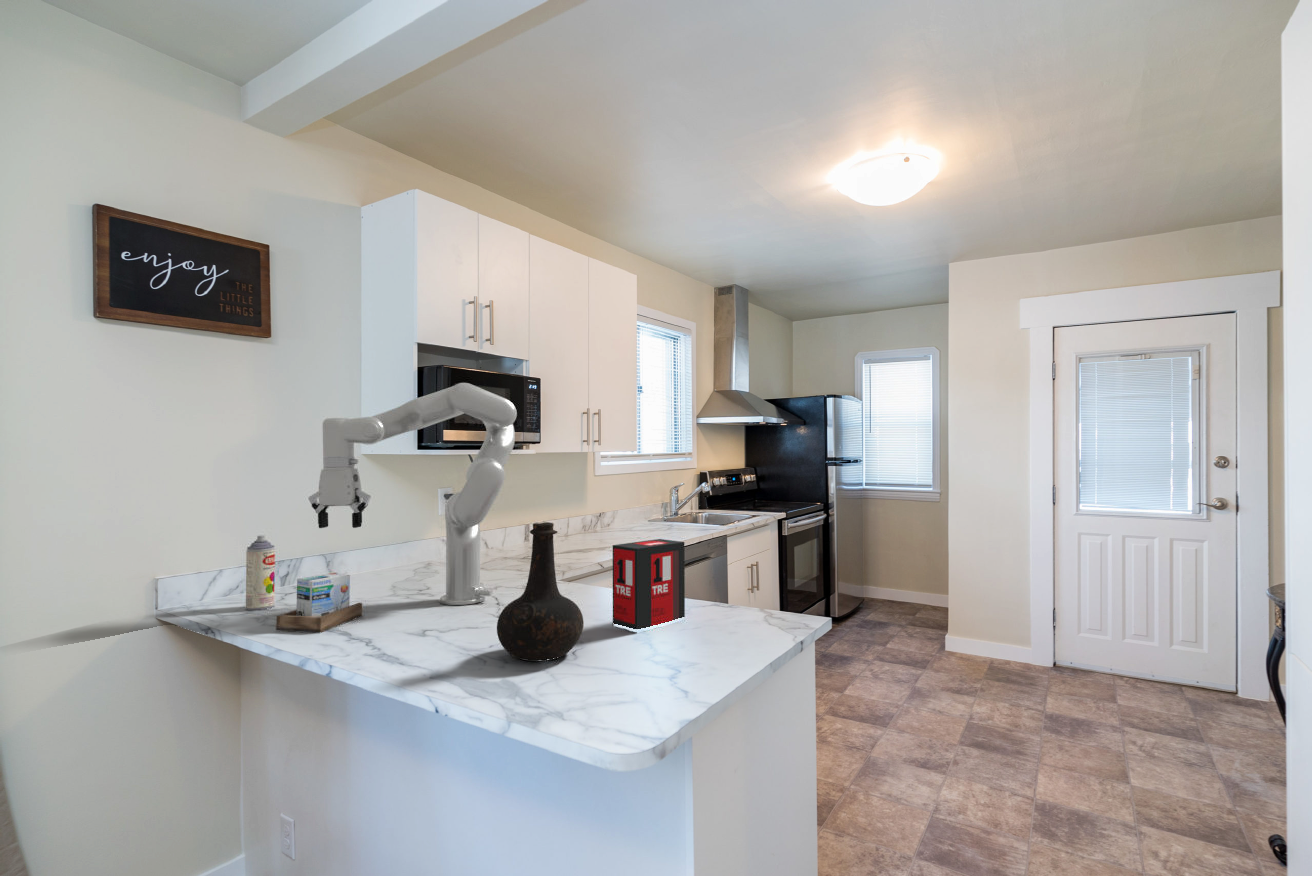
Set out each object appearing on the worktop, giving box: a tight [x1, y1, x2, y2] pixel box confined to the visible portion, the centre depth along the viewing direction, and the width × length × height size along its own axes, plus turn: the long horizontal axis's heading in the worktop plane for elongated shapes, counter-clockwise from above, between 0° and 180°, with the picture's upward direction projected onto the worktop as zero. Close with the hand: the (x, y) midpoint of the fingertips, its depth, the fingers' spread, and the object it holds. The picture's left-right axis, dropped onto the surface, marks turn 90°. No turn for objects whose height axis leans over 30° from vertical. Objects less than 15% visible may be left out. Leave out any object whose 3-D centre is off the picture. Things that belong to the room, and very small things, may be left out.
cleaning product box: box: [612, 538, 686, 629], centre depth 162 cm, size 16×9×20 cm, turn 134°
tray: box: [275, 602, 363, 633], centre depth 163 cm, size 12×16×4 cm
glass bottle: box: [496, 521, 585, 661], centre depth 137 cm, size 18×18×28 cm
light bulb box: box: [296, 572, 351, 617], centre depth 164 cm, size 11×7×11 cm, turn 150°
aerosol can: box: [245, 534, 276, 611], centre depth 180 cm, size 7×7×20 cm
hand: (340, 527), depth 174 cm, fingers open, 9 cm apart
